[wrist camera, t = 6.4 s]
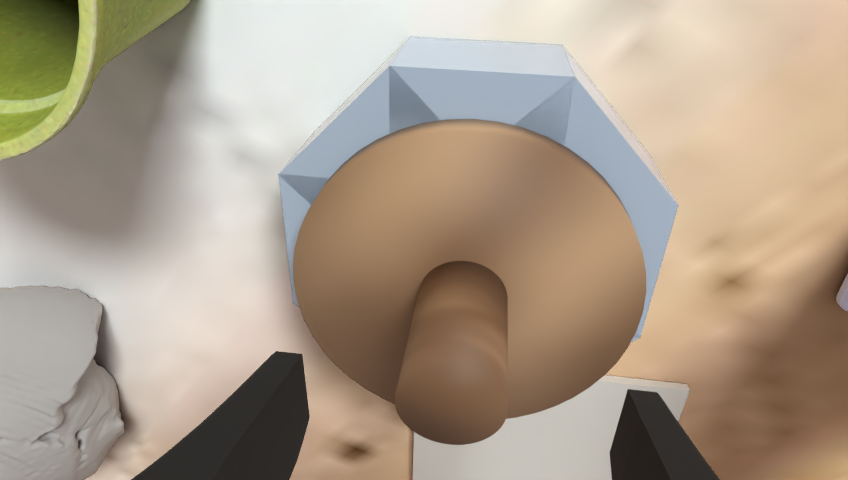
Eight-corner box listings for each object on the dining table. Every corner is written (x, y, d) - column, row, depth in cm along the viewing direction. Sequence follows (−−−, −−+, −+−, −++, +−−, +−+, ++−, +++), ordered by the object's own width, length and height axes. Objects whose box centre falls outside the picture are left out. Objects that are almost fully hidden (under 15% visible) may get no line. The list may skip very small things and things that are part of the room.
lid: (708, 184, 16) (792, 299, 11) (559, 432, 22) (574, 577, 17) (333, 69, 16) (259, 140, 11) (282, 352, 21) (219, 477, 17)
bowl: (674, 50, 18) (713, 84, 15) (603, 339, 24) (619, 411, 21) (308, 30, 19) (264, 58, 16) (329, 312, 25) (301, 375, 22)
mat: (687, 383, 25) (689, 390, 24) (629, 543, 31) (630, 550, 31) (417, 355, 26) (415, 361, 26) (412, 514, 32) (411, 520, 32)
